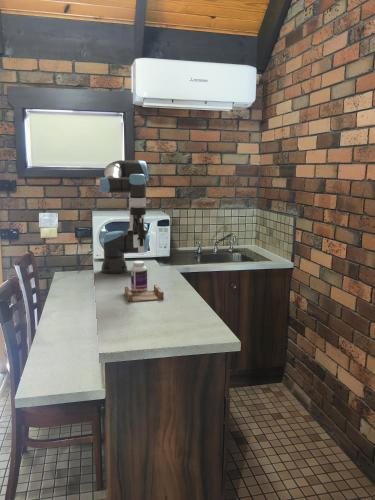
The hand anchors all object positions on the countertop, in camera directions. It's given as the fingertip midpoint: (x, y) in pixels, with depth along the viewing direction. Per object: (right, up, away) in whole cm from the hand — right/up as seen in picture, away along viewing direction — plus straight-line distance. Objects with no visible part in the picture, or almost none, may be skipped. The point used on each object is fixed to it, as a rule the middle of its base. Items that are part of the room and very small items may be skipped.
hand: (138, 250), depth 209 cm
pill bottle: (0, -20, +4) cm, 21 cm away
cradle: (+3, -22, -7) cm, 23 cm away
